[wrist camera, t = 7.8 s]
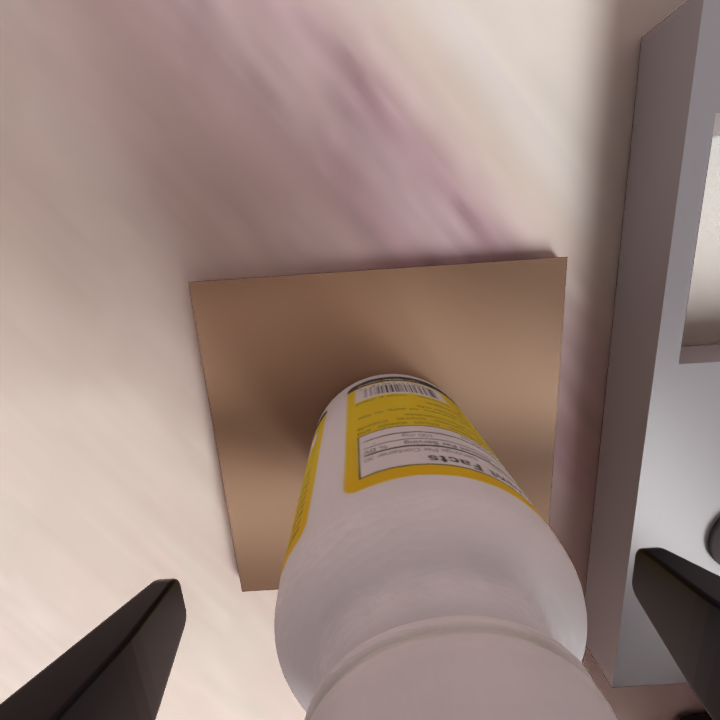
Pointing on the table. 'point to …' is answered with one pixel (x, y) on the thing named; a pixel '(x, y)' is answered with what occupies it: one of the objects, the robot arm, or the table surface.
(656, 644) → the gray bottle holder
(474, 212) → the table surface
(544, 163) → the table surface
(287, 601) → the supplement bottle
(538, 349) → the walnut pad
